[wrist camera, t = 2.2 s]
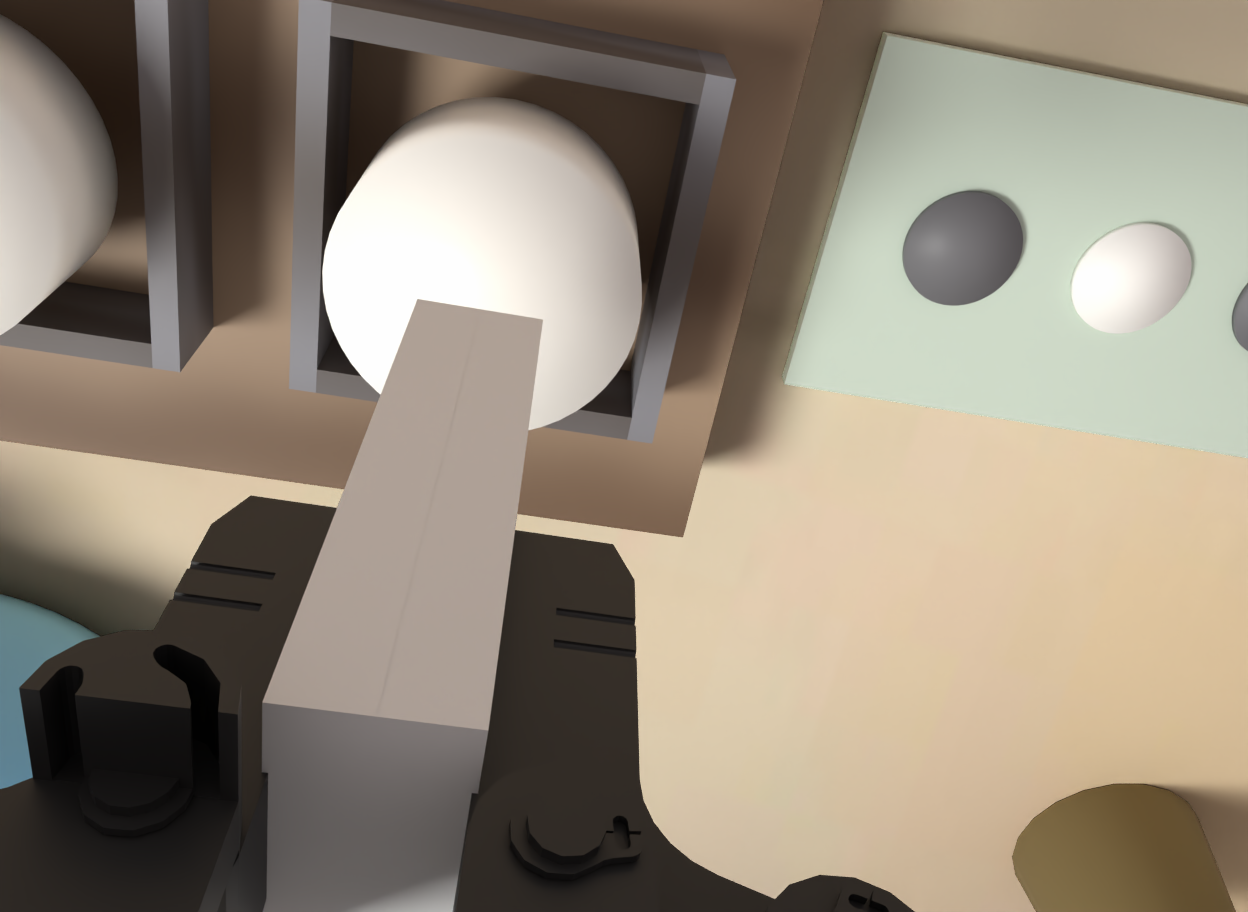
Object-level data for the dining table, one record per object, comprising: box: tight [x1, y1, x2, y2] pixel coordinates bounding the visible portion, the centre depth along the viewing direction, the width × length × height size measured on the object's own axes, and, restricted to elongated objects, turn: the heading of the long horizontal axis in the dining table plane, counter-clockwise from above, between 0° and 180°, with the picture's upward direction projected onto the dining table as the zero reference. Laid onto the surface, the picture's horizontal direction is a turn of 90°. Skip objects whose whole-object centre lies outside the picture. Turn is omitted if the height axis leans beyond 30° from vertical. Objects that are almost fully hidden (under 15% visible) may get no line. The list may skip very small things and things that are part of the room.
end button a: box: [322, 97, 642, 430], centre depth 18 cm, size 5×5×2 cm
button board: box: [0, 0, 824, 537], centre depth 20 cm, size 14×28×5 cm, turn 80°
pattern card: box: [782, 32, 1248, 458], centre depth 24 cm, size 8×14×1 cm, turn 79°
